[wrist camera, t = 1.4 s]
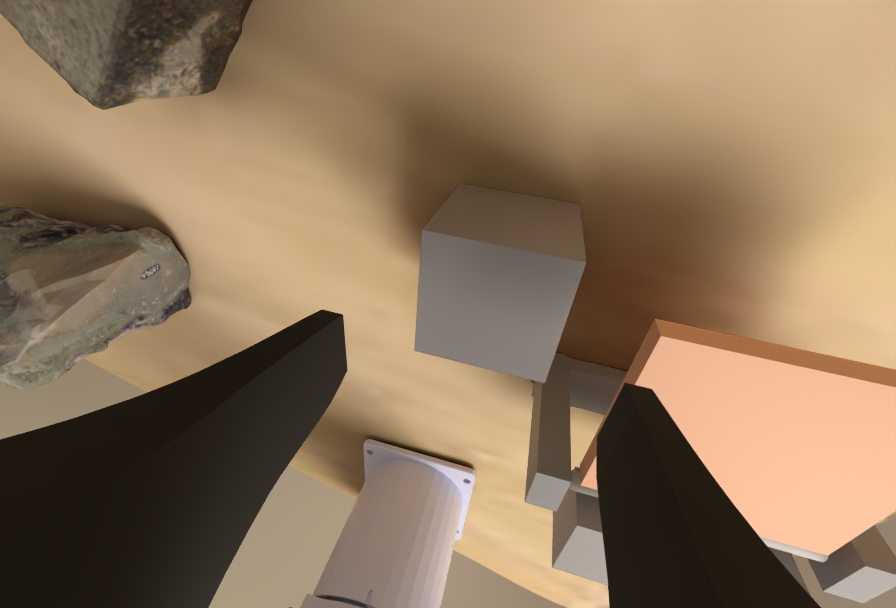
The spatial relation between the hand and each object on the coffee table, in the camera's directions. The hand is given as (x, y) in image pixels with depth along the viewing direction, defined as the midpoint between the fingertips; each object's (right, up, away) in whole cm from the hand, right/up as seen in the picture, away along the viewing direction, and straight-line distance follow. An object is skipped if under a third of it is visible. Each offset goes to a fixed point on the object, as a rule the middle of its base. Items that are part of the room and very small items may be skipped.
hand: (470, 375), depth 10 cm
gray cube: (+2, +4, +7) cm, 8 cm away
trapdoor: (+9, -4, +4) cm, 10 cm away
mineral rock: (-21, +6, +13) cm, 26 cm away
